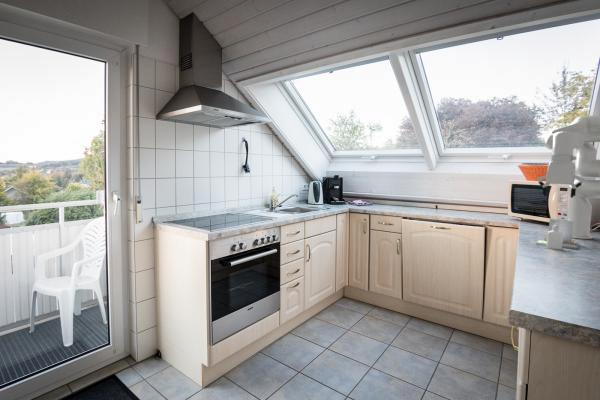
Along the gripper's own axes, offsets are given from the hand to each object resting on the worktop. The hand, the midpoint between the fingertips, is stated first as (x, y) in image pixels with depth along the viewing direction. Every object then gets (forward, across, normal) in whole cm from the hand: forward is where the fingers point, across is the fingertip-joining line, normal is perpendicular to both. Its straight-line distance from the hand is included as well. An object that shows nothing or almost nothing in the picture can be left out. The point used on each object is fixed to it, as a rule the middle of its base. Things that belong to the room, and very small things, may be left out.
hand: (558, 196), depth 150 cm
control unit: (+24, 0, -19) cm, 31 cm away
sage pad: (+24, +4, -8) cm, 26 cm away
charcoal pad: (+24, -4, -8) cm, 26 cm away
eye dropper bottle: (+24, 0, 0) cm, 25 cm away
